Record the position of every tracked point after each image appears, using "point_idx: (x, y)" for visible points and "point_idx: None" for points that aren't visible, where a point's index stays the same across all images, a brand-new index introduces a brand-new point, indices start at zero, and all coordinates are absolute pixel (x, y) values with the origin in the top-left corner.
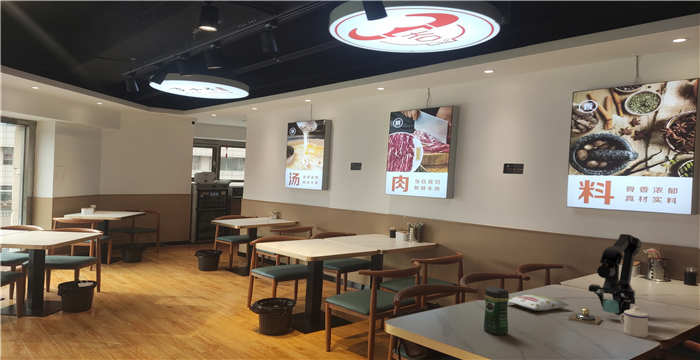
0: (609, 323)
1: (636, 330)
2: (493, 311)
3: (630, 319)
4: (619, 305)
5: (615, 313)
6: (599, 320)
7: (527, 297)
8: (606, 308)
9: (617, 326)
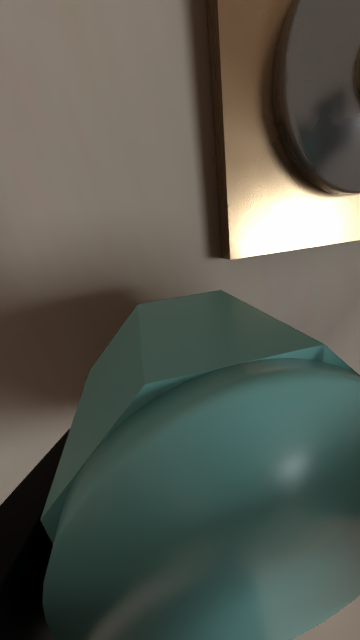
0: (129, 167)
1: None
2: None
3: None
4: (45, 492)
5: None
6: (222, 76)
7: None
8: (245, 303)
9: (6, 82)
